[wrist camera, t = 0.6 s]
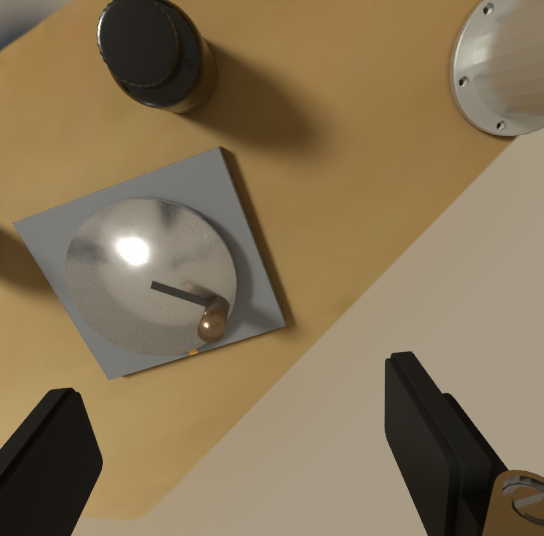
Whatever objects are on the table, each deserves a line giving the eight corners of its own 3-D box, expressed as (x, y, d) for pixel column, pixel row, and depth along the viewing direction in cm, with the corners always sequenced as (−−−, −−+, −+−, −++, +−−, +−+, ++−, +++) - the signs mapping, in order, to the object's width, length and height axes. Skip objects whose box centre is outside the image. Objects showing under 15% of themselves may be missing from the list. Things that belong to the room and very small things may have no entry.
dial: (60, 320, 39) (22, 354, 33) (90, 170, 34) (50, 178, 28) (209, 366, 42) (199, 406, 36) (260, 233, 36) (258, 253, 30)
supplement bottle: (185, 130, 34) (144, 129, 23) (127, 72, 33) (52, 42, 21) (234, 72, 33) (216, 42, 21) (176, 9, 31) (122, -61, 20)
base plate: (220, 146, 35) (218, 147, 33) (285, 319, 42) (285, 326, 40) (21, 219, 37) (11, 223, 36) (113, 372, 44) (108, 381, 42)
